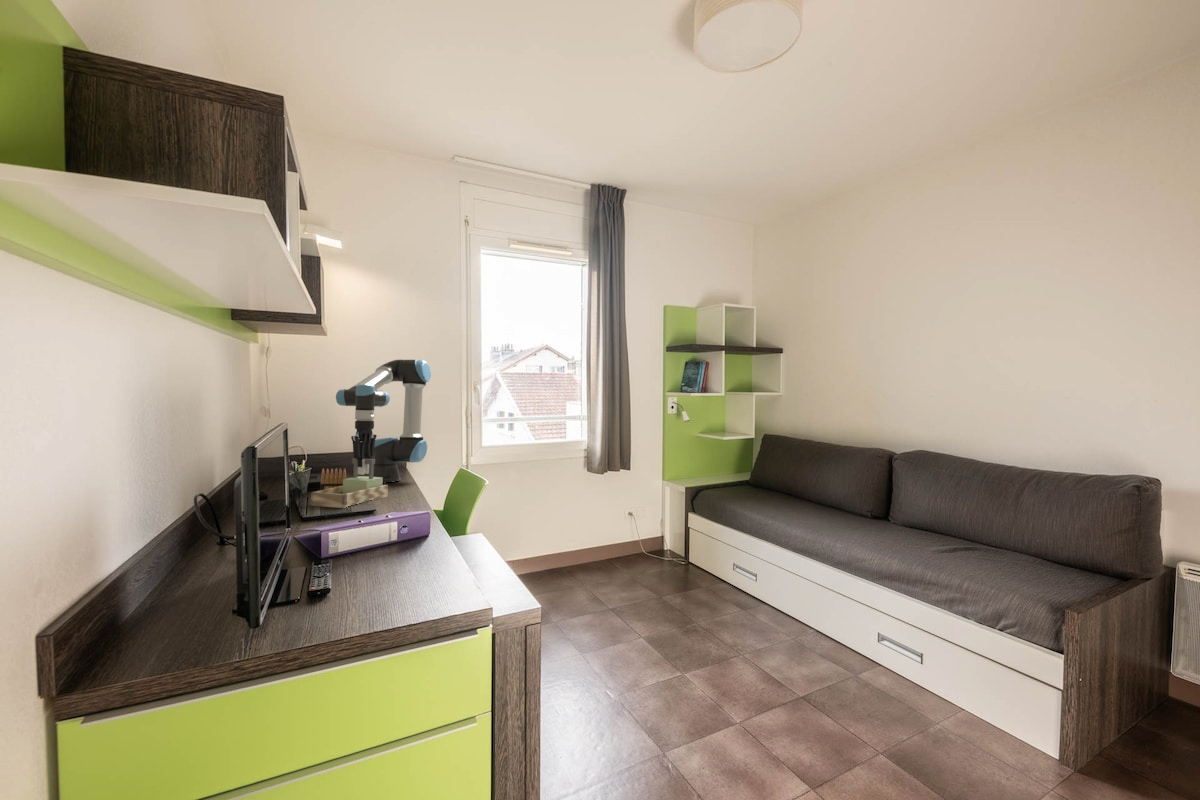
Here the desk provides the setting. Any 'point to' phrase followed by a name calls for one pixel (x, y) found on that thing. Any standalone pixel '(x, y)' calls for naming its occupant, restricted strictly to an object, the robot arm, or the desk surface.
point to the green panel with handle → (361, 479)
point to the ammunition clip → (332, 479)
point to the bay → (346, 496)
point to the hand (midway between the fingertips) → (363, 473)
